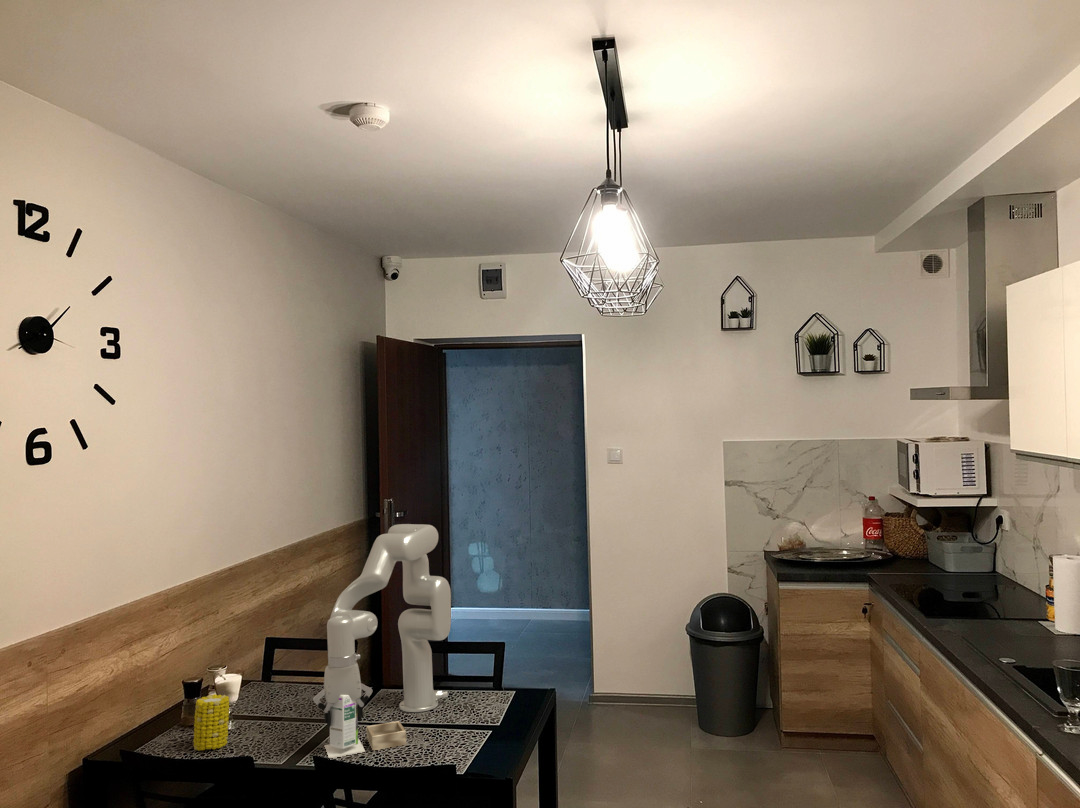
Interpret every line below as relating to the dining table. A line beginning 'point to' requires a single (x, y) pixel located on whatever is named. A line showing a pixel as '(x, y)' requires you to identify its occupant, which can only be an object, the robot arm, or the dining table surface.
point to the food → (211, 722)
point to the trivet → (343, 750)
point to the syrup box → (344, 723)
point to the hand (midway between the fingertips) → (344, 722)
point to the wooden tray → (386, 735)
